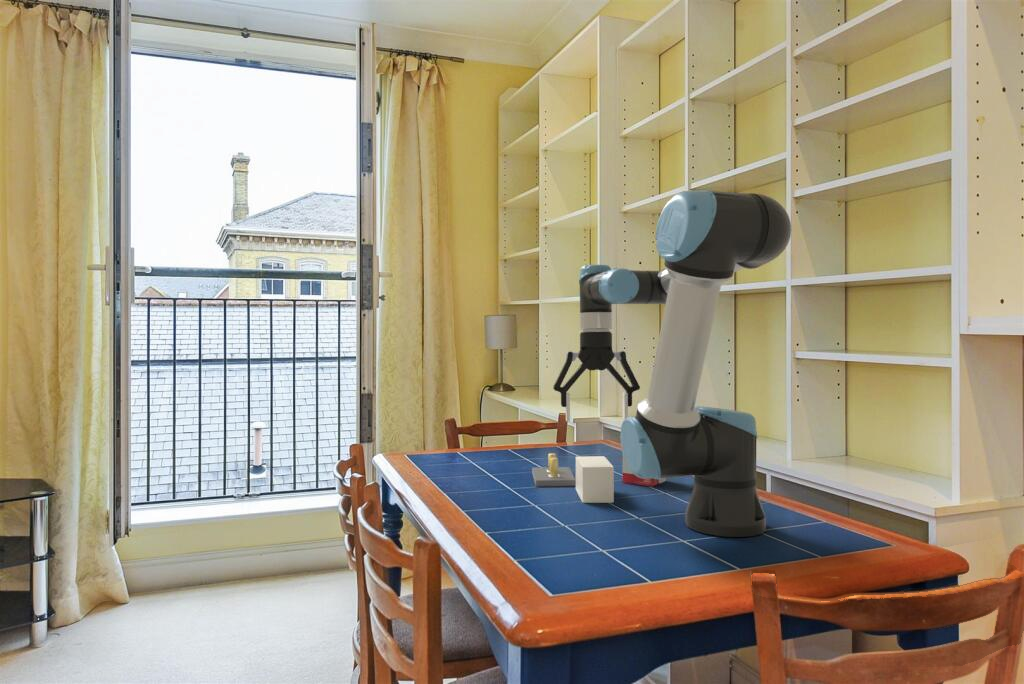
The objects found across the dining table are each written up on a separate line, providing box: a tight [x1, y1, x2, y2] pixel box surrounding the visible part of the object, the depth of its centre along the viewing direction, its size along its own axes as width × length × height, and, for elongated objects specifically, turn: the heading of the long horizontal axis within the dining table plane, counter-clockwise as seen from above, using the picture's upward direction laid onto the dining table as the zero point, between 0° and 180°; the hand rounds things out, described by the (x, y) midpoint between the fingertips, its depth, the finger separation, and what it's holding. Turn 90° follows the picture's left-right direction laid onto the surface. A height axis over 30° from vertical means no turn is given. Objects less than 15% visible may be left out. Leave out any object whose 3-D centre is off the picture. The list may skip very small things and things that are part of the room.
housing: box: [575, 455, 615, 504], centre depth 159 cm, size 13×7×8 cm, turn 2°
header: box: [531, 453, 576, 488], centre depth 177 cm, size 16×10×6 cm, turn 2°
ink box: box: [621, 454, 667, 487], centre depth 173 cm, size 9×9×12 cm
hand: (596, 420), depth 161 cm, fingers open, 13 cm apart
